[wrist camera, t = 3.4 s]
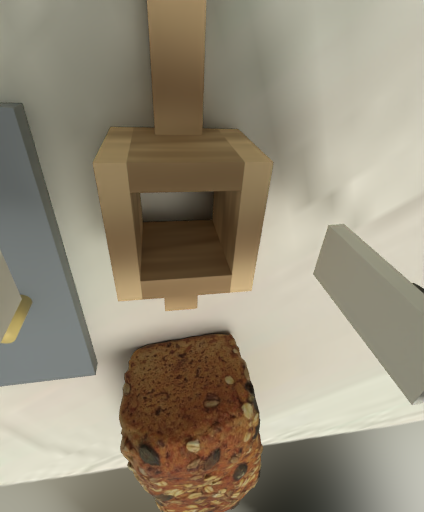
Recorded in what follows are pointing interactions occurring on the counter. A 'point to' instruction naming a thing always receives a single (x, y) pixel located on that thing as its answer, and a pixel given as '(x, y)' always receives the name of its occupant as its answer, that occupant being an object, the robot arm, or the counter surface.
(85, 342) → the post base
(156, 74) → the wooden frame with handle
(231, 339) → the bread
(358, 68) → the counter surface
